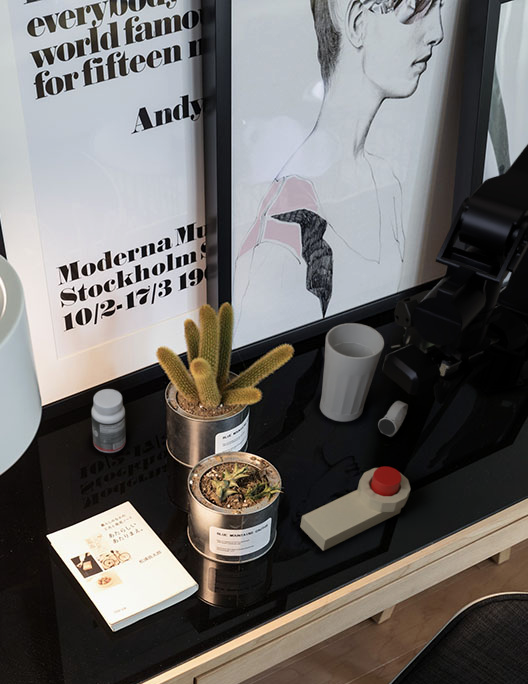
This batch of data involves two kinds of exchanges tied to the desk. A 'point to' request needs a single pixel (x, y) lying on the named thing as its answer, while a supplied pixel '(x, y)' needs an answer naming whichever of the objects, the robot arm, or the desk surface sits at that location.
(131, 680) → the desk surface
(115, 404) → the pill bottle
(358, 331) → the cup
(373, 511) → the button base
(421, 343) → the dial
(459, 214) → the robot arm
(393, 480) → the power button
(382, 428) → the grey short cylinder
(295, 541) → the desk surface
